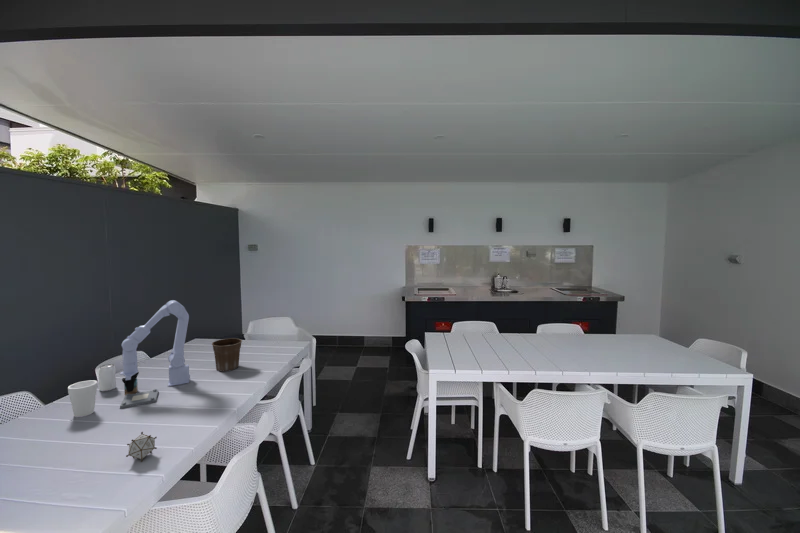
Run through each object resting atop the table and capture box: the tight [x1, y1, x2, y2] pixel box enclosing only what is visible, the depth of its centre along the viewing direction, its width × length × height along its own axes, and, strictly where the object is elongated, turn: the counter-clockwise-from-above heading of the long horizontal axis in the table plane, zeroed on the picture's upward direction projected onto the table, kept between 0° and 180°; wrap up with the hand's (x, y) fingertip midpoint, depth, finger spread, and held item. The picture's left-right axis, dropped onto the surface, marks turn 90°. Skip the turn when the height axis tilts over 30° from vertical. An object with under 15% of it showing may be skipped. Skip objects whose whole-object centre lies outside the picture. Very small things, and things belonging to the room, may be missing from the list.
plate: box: [119, 388, 159, 409], centre depth 160 cm, size 13×13×2 cm
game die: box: [125, 431, 158, 463], centre depth 116 cm, size 9×8×10 cm
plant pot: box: [211, 337, 243, 372], centre depth 203 cm, size 16×16×16 cm
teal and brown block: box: [123, 378, 139, 396], centre depth 168 cm, size 4×4×6 cm
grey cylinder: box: [98, 363, 117, 392], centre depth 172 cm, size 6×6×12 cm
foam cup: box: [67, 379, 99, 418], centre depth 146 cm, size 10×9×13 cm
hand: (131, 389), depth 168 cm, fingers closed on teal and brown block, 4 cm apart
